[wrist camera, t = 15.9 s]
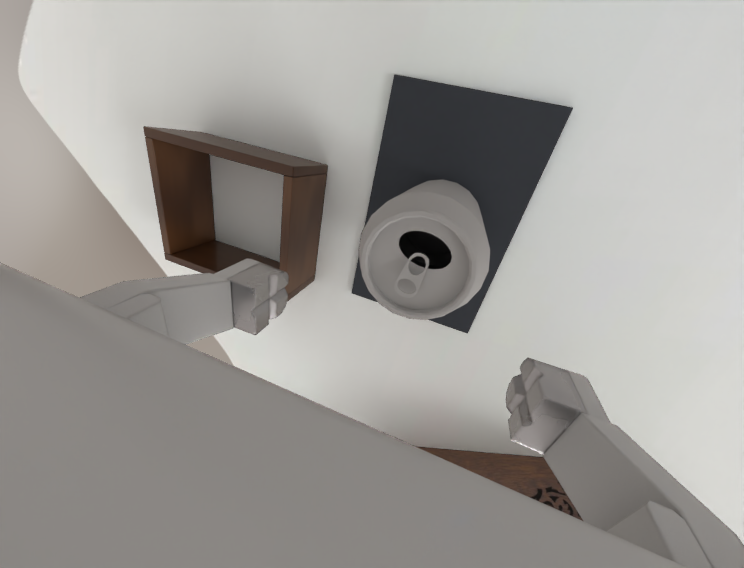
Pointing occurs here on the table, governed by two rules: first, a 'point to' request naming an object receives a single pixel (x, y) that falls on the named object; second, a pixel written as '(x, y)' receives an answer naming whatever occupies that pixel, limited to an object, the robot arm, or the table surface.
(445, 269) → the can
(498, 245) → the mat
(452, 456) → the tissue box cover
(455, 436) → the table surface
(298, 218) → the crate
